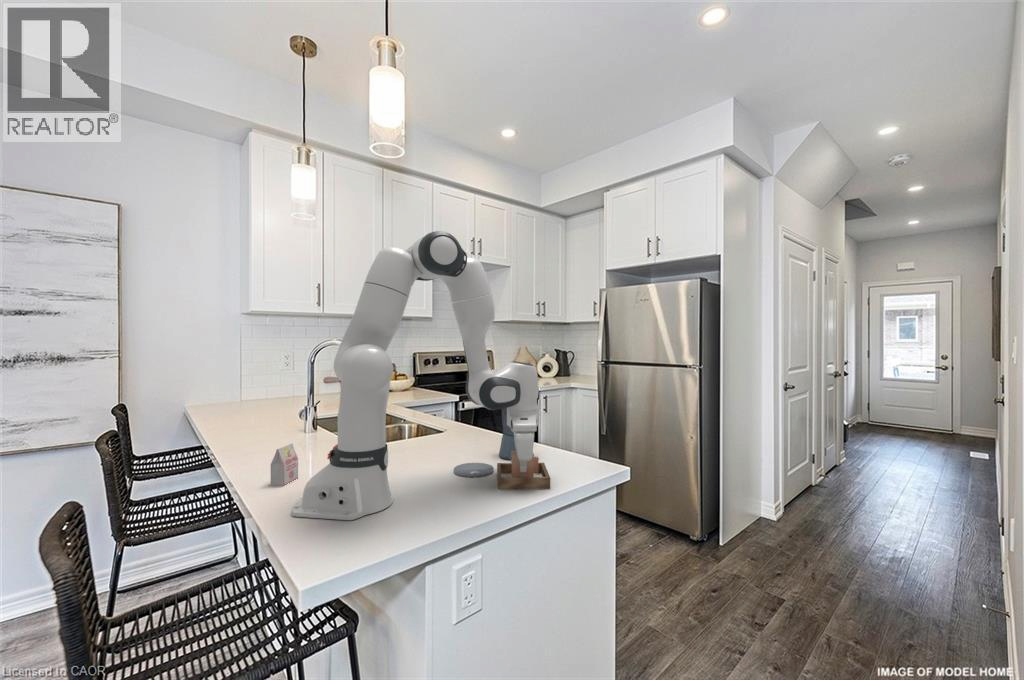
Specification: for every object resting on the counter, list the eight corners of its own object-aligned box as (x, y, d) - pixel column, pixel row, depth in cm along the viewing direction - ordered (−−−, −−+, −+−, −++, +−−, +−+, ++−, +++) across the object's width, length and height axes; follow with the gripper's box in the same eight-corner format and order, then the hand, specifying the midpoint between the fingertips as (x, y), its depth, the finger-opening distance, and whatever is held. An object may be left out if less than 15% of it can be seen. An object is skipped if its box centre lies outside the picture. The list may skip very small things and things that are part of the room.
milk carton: (270, 486, 121) (270, 449, 121) (286, 478, 128) (285, 443, 127) (283, 486, 120) (283, 449, 120) (298, 478, 127) (298, 443, 127)
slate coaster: (451, 477, 128) (451, 475, 128) (455, 465, 140) (455, 462, 140) (493, 477, 129) (493, 474, 129) (493, 465, 141) (493, 462, 141)
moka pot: (534, 461, 145) (535, 399, 145) (487, 460, 145) (487, 399, 145) (533, 453, 155) (534, 395, 154) (489, 452, 155) (489, 395, 155)
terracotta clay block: (512, 483, 124) (512, 454, 124) (511, 478, 128) (511, 450, 128) (538, 483, 124) (539, 454, 124) (537, 478, 129) (537, 450, 128)
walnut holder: (497, 489, 119) (497, 478, 119) (497, 473, 133) (497, 463, 133) (550, 489, 119) (550, 477, 119) (544, 472, 133) (544, 462, 133)
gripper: (509, 412, 136) (509, 457, 136) (513, 426, 116) (512, 479, 116) (530, 412, 136) (530, 457, 137) (537, 426, 116) (537, 479, 116)
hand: (522, 467), depth 126 cm, fingers open, 5 cm apart
